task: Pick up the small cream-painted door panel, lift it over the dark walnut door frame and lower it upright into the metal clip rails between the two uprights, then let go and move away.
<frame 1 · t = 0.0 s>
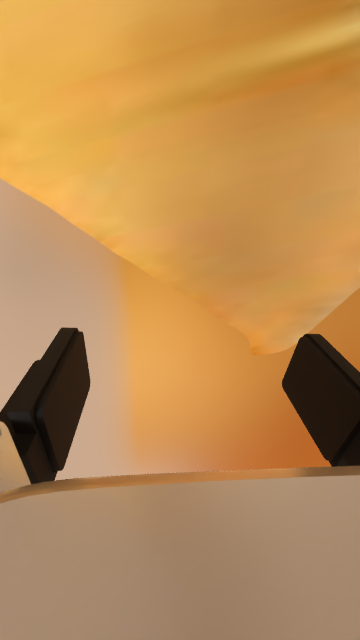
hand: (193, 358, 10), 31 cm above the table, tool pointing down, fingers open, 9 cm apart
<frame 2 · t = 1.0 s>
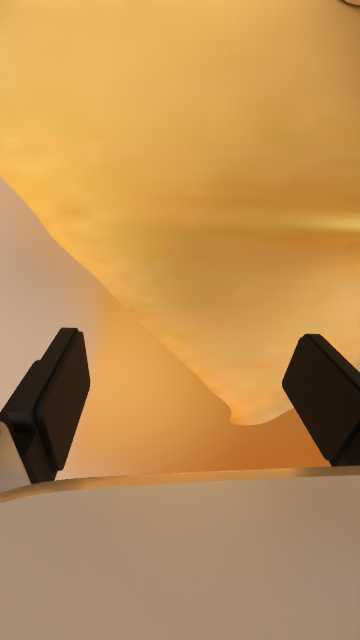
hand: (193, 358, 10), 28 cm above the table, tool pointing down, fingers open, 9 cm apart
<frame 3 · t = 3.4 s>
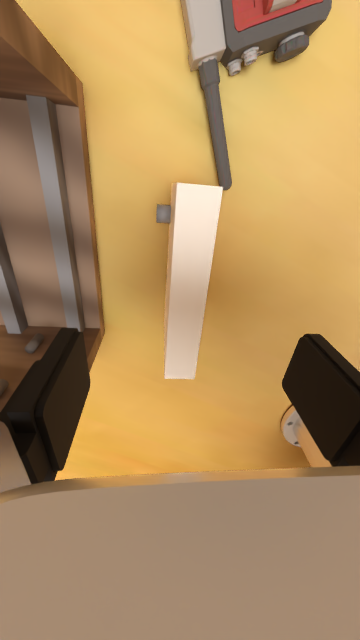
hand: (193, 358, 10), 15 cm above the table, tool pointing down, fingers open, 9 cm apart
door panel: (179, 263, 24), on the table
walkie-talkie: (244, 13, 16), on the table
door frame: (39, 233, 22), on the table
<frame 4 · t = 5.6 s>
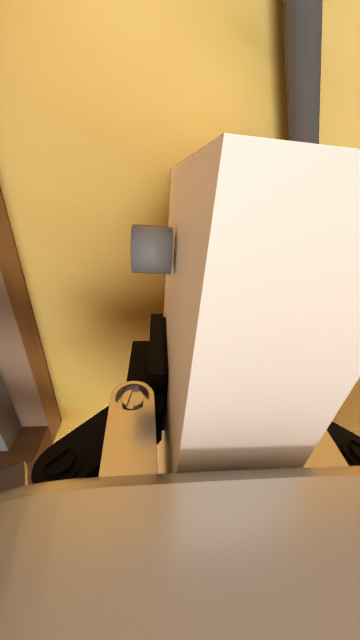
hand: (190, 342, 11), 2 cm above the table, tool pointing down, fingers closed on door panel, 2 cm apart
door panel: (185, 319, 13), on the table, touching gripper
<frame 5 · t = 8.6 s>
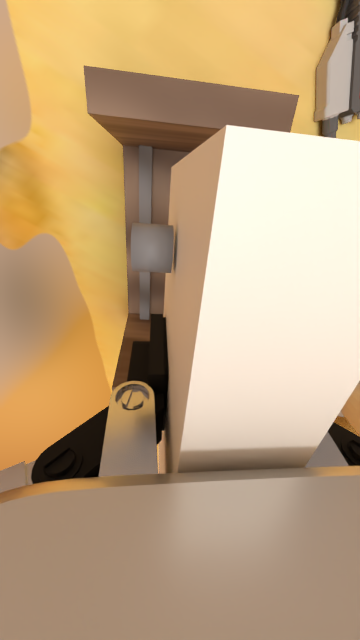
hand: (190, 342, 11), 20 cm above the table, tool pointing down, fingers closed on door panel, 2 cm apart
door panel: (185, 318, 13), point 18 cm above the table, touching gripper
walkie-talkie: (355, 81, 23), on the table
door frame: (170, 243, 29), on the table
when the fingers open (5 cm above the table, at t = 11.6 s): door panel stays where it is, resting on door frame.
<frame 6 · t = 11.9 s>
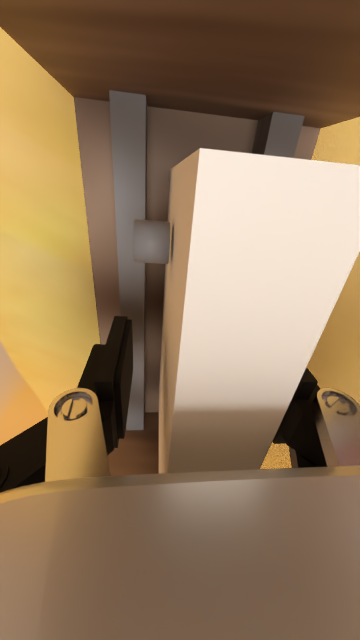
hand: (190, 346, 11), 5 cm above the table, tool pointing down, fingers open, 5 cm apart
door panel: (184, 311, 14), point 2 cm above the table, touching door frame
door frame: (181, 299, 15), on the table
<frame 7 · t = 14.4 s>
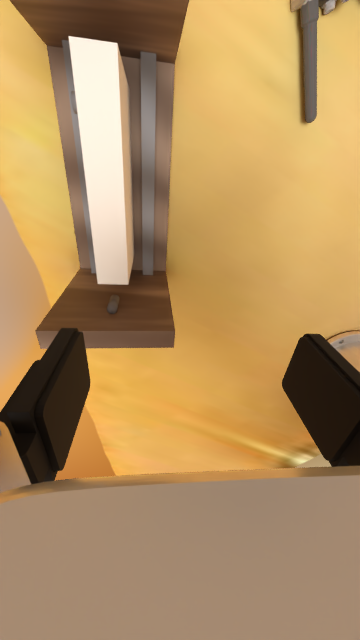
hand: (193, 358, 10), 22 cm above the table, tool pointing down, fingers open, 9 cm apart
door panel: (119, 183, 24), point 1 cm above the table, touching door frame
door frame: (121, 182, 25), on the table
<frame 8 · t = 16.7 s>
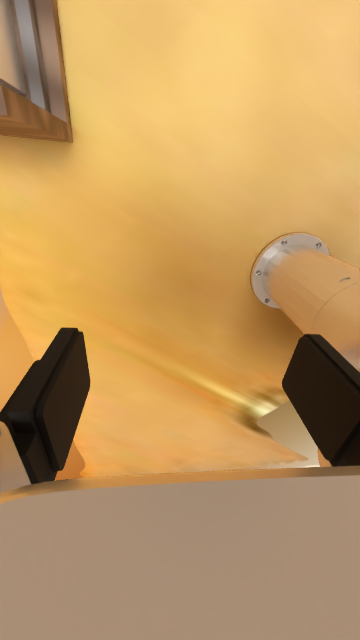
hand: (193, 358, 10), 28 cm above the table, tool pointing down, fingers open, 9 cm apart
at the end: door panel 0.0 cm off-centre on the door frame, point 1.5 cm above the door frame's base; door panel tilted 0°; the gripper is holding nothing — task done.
